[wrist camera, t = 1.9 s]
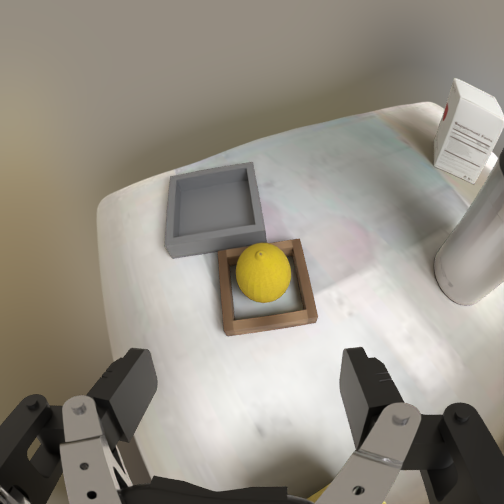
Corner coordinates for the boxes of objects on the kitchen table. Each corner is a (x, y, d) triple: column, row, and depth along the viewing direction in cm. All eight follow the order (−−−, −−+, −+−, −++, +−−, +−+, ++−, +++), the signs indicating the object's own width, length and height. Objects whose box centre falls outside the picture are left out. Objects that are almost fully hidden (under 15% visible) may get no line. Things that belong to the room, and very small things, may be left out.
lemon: (233, 279, 34) (221, 242, 27) (276, 261, 35) (275, 220, 28) (253, 320, 31) (244, 292, 24) (298, 299, 32) (303, 265, 25)
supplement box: (432, 139, 45) (453, 75, 32) (470, 157, 42) (496, 97, 29) (432, 166, 41) (459, 95, 28) (474, 186, 38) (507, 120, 25)
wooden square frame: (299, 247, 35) (299, 238, 33) (315, 322, 30) (317, 316, 28) (220, 259, 35) (217, 251, 34) (227, 336, 30) (223, 331, 29)
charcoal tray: (254, 176, 42) (252, 161, 40) (266, 244, 36) (265, 230, 33) (176, 190, 42) (170, 176, 40) (172, 258, 36) (164, 246, 34)
